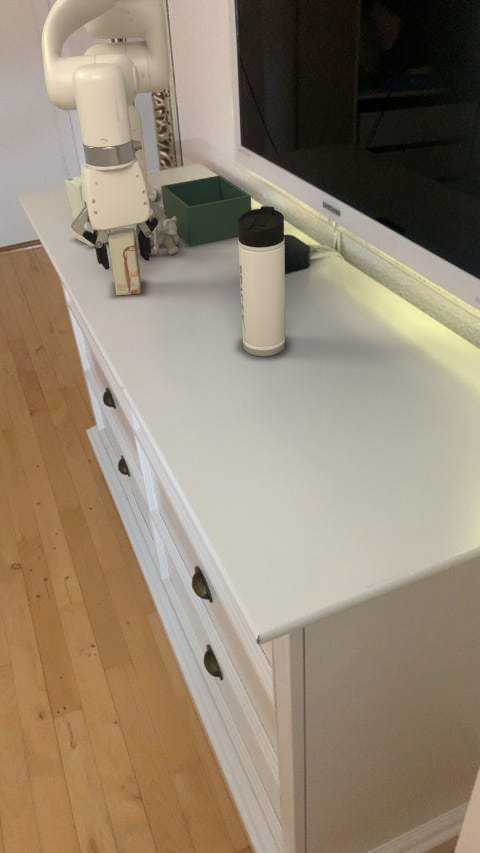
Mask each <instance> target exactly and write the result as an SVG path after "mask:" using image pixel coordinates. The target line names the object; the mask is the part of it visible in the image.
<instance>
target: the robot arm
mask: <svg viewBox="0 0 480 853" xmlns="http://www.w3.org/2000/svg"><path fill="white" fill-rule="evenodd" d="M164 6H165V5H164V1H163V0H56V1H55V3H53V5H52V7H51V8H50V10H49V12H48V14H47V16H46V18H45V21H44V24H43V27H42V32H41V39H40V40H41V41H40V42H41V55H42V67H43V76H44V83H45V88H46V93H47V96H48V98H49V100H50V102H51V104H53V106H54V107H55V108H57V109H58V110H62V111H77V117H78V123H79V124H78V125H79V128H80V129H79V130H80V134H81V142H82V146H83V153H84V159H85V162H83V163H81V165H80V176H81V186H82V197H83V206H84V208H83V209H82V211H81V212H80V213H79V215H78V216H77V218H76V219H75V220H74V221H73V222H72V223H71V224H70V227H71V229H72V231H74V232H75V233H76V232H77V233H78V234H79V235H81V236H82V237H84V238H85V239H86V240H88V241H89V242H91V243H92V244H94V245H95V246H94V249H95V253H96V260H97V263H98V265H101V266H102V267H103V268H104V270H105V271H107V270H110V268H111V266H110V259H109V254H108V248H107V246H106V245H105V243H104V238H105V234H106V230H107V231H109V230H110V229H121V228H126V227H129V226H136V225H137V226H138V228H139V230H140V231H139V233H138V235H137V241H138V248H139V255H140V257H141V258H142V259H143V260H144V261H146V262H149V261H150V255H151V254H152V247H151V245H150V237H151V235H152V232H153V230H154V229H155V227H156V226H157V225H158V222H159V220H160V219H161V218H162V216H163V215H164V213H165V209H164V208H163V207H162V206H161V205H160V204H159V203H157V202H156V200H157V198H158V195H157V194H158V193H157V191H156V190H155V189H154V188H153V187H150V185H149V184H150V183H149V177H148V167H147V159H146V151H145V143H144V142H145V141H144V135H143V127H142V119H141V115H140V112H139V110H138V109H137V107H135V105H134V104H133V102H134V101H135V100H136V97H137V95H138V94H145V93H147V94H149V93H158V92H162V91H164V90H166V89H167V88H168V87H169V84H170V76H171V68H170V54H169V47H168V46H169V45H168V34H167V24H166V23H167V22H166V13H165V7H164ZM82 27H84V29H85V31H86V33H87V34H88V35H89V36H90V37H91V38H93V39H97V40H114V39H115V40H118V39H131V38H140V39H142V40H135V41H117V42H104V43H98V44H94V45H92V46H90V47H88V48H87V49H86V50H85V51H84V54H83V55H82V54H81V55H68V56H62V51H63V47H64V44H65V43H66V41H67V40H68V39H69V38H70V36H71V35H72V34H73V33H75V32H76V31H78V30H79V29H81V28H82ZM151 210H152V213H151ZM151 215H152V216H151ZM150 216H151V217H150ZM86 221H87V222H89V223H91V225H92V228H93V233H91V232H90V231H88V230H87V229H85V228H84V227H83V226H84V224H85V223H86ZM145 221H146V223H145ZM149 254H150V255H149Z"/></svg>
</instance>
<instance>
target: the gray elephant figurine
mask: <svg viewBox="0 0 480 853" xmlns="http://www.w3.org/2000/svg"><path fill="white" fill-rule="evenodd" d="M151 216H152V214H150V217H151ZM177 222H178V219H177V217H176V216H174V217H173V218H172V219H167V216H164V215H163V216H162V218H161V219H160V220H159V222H158V225H157V226H156V227H155V229H154V230H153V232H152V235H151V237H150V245H151V248H152V247H153V251H154V254H156V255H157V254H158V253H159V252H160V249H159V244H162V243H163V245H164V246H165V247H166V250H167V254H168V255H170V256H174V255H176V254H177V253H178V252H179V247H178V245H179V244H180V242H181V236H180V235H179V234H178V233H177V226H176V224H175V223H177ZM145 223H146V221H145ZM139 231H140V230H139V228H138V226H137V225H136V224H135V234H136V235H137V236H138V233H139ZM150 255H151V253H150V254H149V256H150Z"/></svg>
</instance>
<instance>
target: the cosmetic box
mask: <svg viewBox="0 0 480 853" xmlns="http://www.w3.org/2000/svg"><path fill="white" fill-rule="evenodd" d="M64 186H65V189H66V193H67V198H68V203H69V208H70V211H71V216H72V220H73V222H74V220H75V219H76V218H77V216H78V215H79V213H80V212H81V211H82V209H83V208H84V206H83V197H82V186H81V175H77V176H75V177H70V178H67V179H64ZM83 227H84V228H85V229H87V230H88V231H90V232H91V233H93V228H92V225H91V223H89V222H87V221H86V223H85V224H84V226H83ZM75 233H76V238H77V240H78V241H80V242H81V243H83V244H86V245H87V246H89V247H92V248H93V247H94V248H95V245H94V244H92V243H91V242H89V241H88V240H86V239H85V238H84V237H82V236H81V235H79V234H78V233H77V232H75ZM108 234H109V233H108V230H106V234H105V238H104V244H106V243H109V242H108Z"/></svg>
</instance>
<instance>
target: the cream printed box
mask: <svg viewBox="0 0 480 853" xmlns="http://www.w3.org/2000/svg"><path fill="white" fill-rule="evenodd" d="M107 234H108V242H107V243H108V249H109V255H110V262H111V269H112V275H113V281H114V282H113V283H114V288H115V294H116V296H124V295H125V296H127V295H137V294H138V295H139V294H141V293H142V278H141V269H140V264H139V263H140V262H139V254H138V246H137V236H136V227H120V228H115V229H109V230H108V233H107Z"/></svg>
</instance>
